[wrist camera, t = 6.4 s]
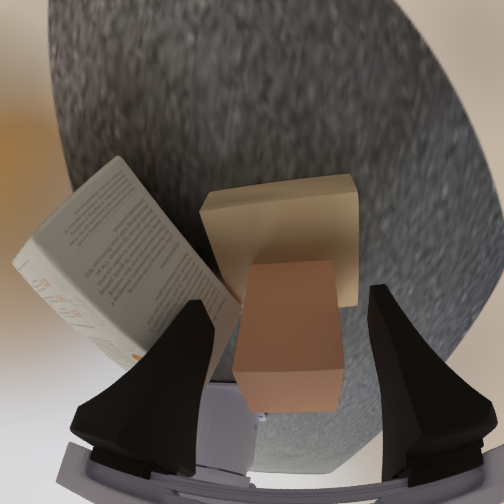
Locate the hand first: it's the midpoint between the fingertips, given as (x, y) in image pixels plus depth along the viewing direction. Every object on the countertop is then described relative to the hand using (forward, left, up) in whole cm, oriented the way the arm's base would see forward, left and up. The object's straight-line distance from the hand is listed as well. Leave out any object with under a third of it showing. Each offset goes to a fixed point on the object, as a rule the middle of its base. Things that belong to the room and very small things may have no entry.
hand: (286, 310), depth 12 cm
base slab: (0, 0, -5) cm, 5 cm away
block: (-2, 0, -3) cm, 4 cm away
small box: (+6, +10, -1) cm, 12 cm away
